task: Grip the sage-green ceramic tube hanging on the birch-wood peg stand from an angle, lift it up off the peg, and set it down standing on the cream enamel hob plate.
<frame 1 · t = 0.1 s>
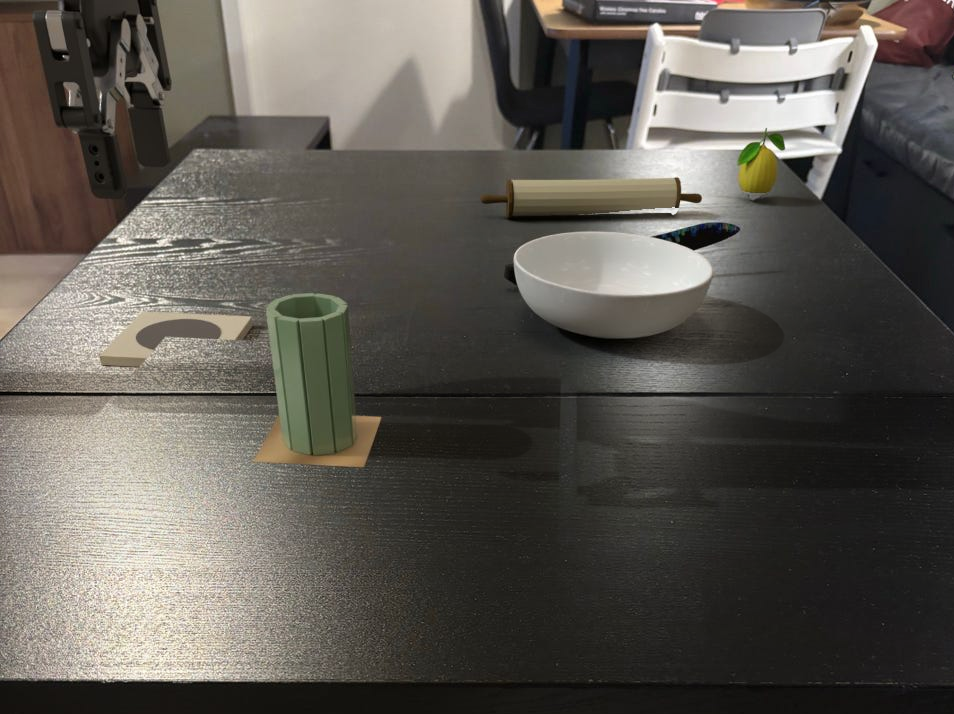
hand: (134, 180, 65), 21 cm above the table, tool pointing down, fingers open, 8 cm apart
knife: (627, 275, 114), point 1 cm above the table
peg stand: (321, 450, 79), on the table
serving bowl: (606, 325, 103), on the table
lemon: (752, 202, 143), on the table
ceramic tube: (320, 437, 78), point 1 cm above the table, touching peg stand
rolling pin: (590, 217, 135), on the table
hob plate: (180, 344, 96), on the table
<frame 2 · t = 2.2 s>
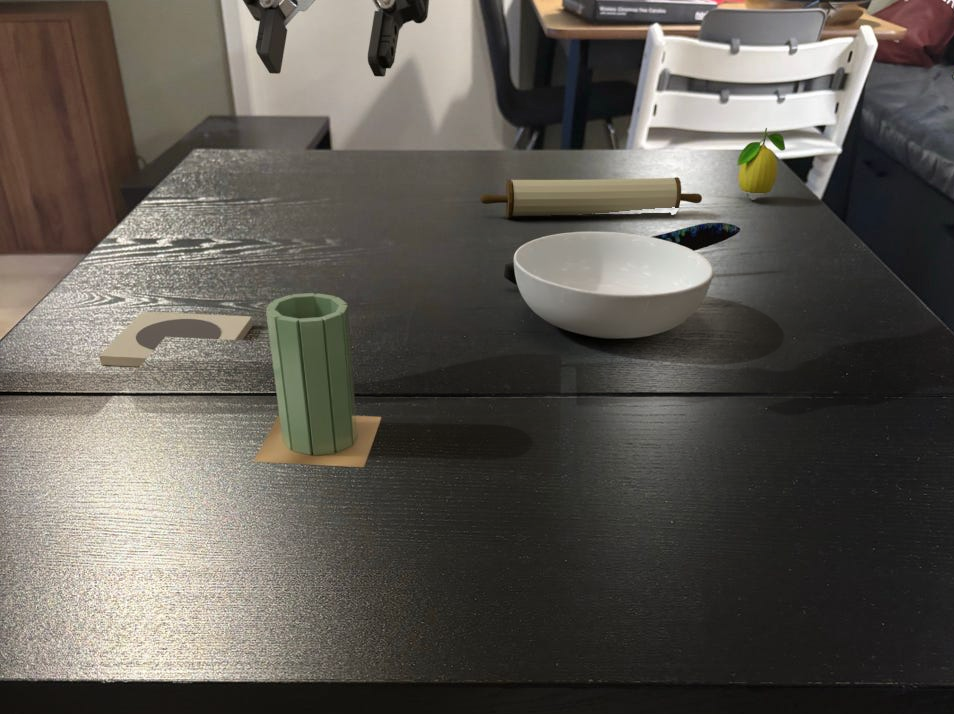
hand: (322, 68, 70), 26 cm above the table, tool tilted 40°, fingers open, 8 cm apart
nothing on the table moved.
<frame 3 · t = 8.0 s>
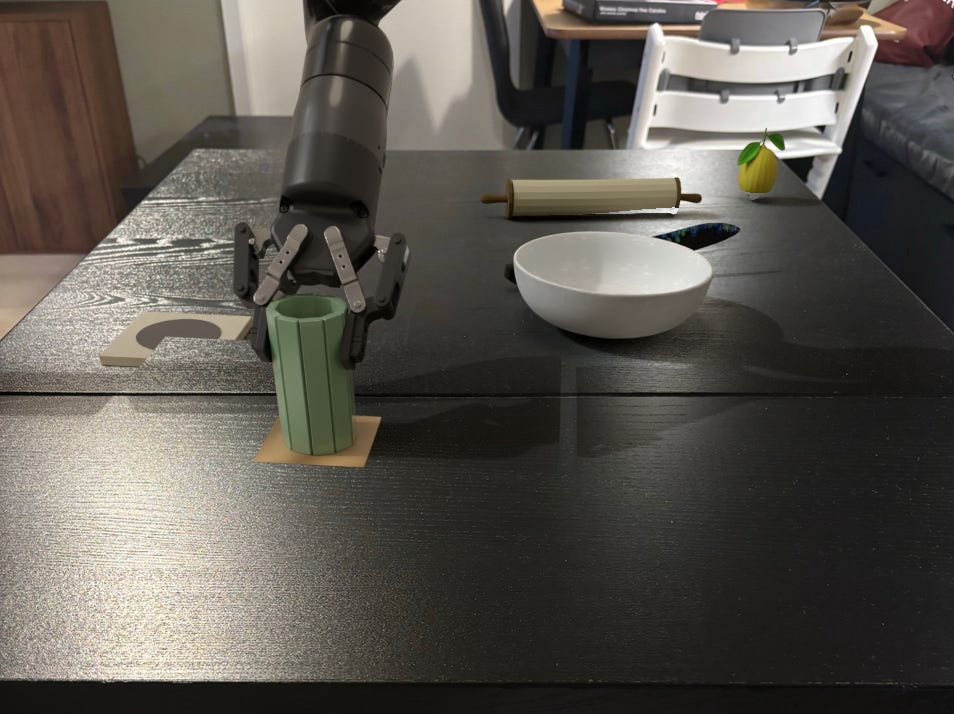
hand: (305, 361, 72), 9 cm above the table, tool tilted 45°, fingers closed on ceramic tube, 6 cm apart
ceramic tube: (320, 437, 78), point 1 cm above the table, touching gripper, peg stand
everything else where it was.
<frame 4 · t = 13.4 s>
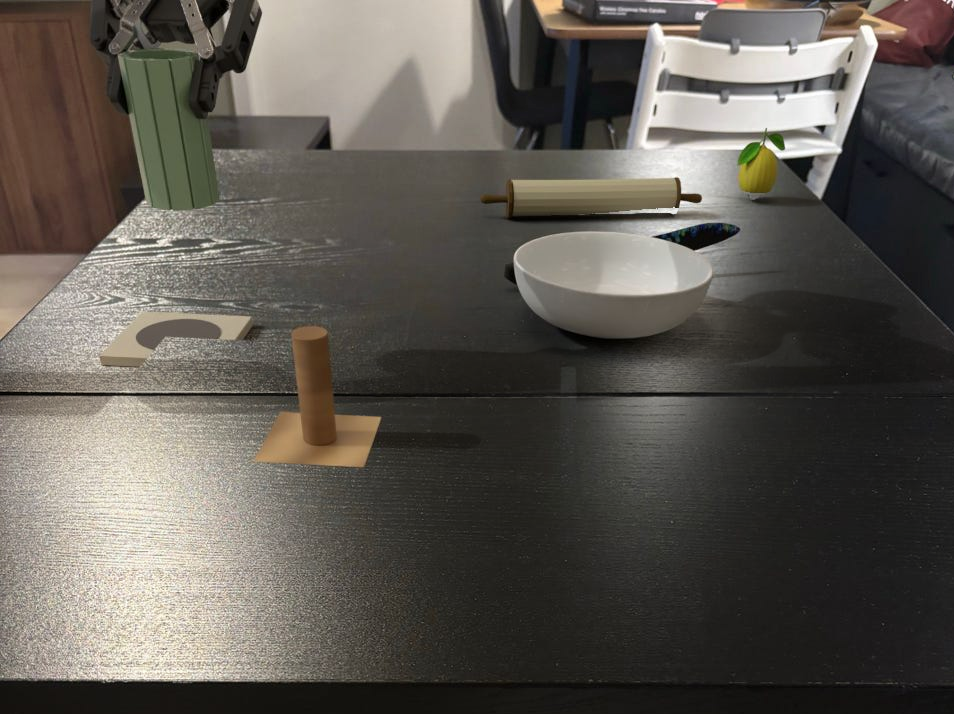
hand: (158, 109, 76), 23 cm above the table, tool tilted 45°, fingers closed on ceramic tube, 6 cm apart
ceramic tube: (183, 201, 82), point 15 cm above the table, touching gripper
everything else where it was.
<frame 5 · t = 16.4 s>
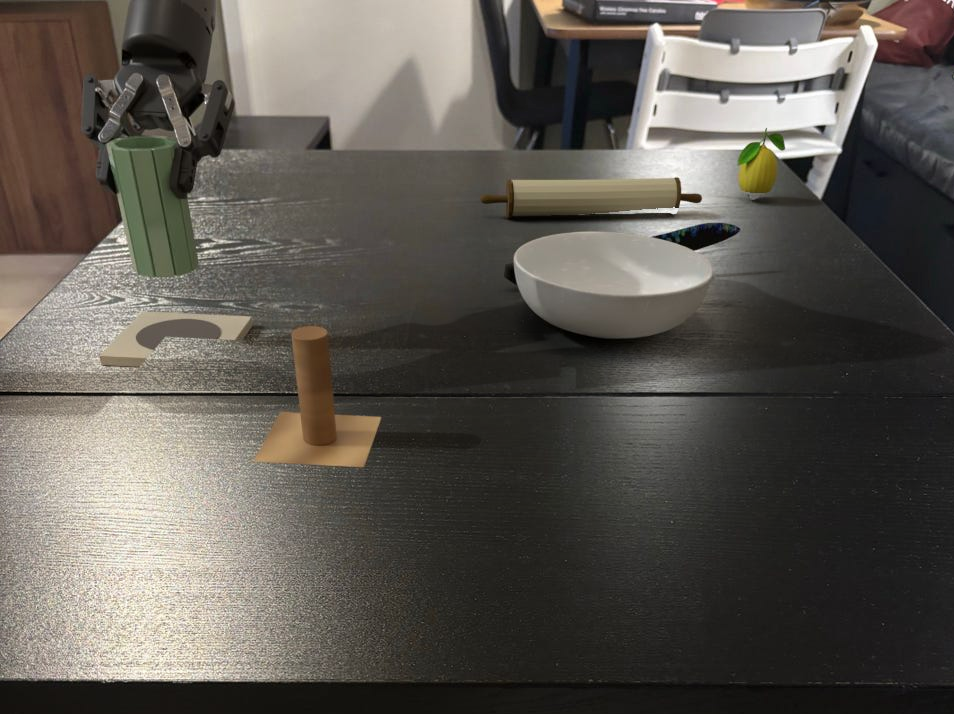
hand: (143, 191, 85), 15 cm above the table, tool tilted 45°, fingers closed on ceramic tube, 6 cm apart
ceramic tube: (166, 267, 91), point 8 cm above the table, touching gripper
everything else where it was.
when the fingers open (8 cm above the table, at t = 18.8 s): ceramic tube stays where it is, resting on hob plate.
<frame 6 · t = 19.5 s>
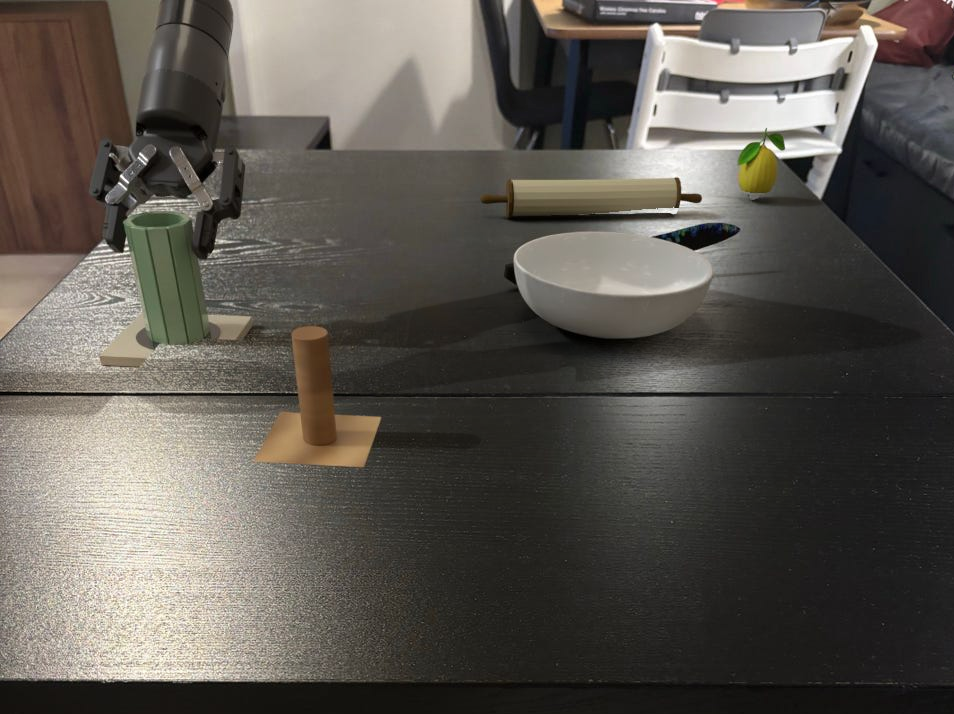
hand: (156, 252, 89), 10 cm above the table, tool tilted 45°, fingers open, 8 cm apart
ceramic tube: (179, 333, 96), point 1 cm above the table, touching hob plate
everything else where it was.
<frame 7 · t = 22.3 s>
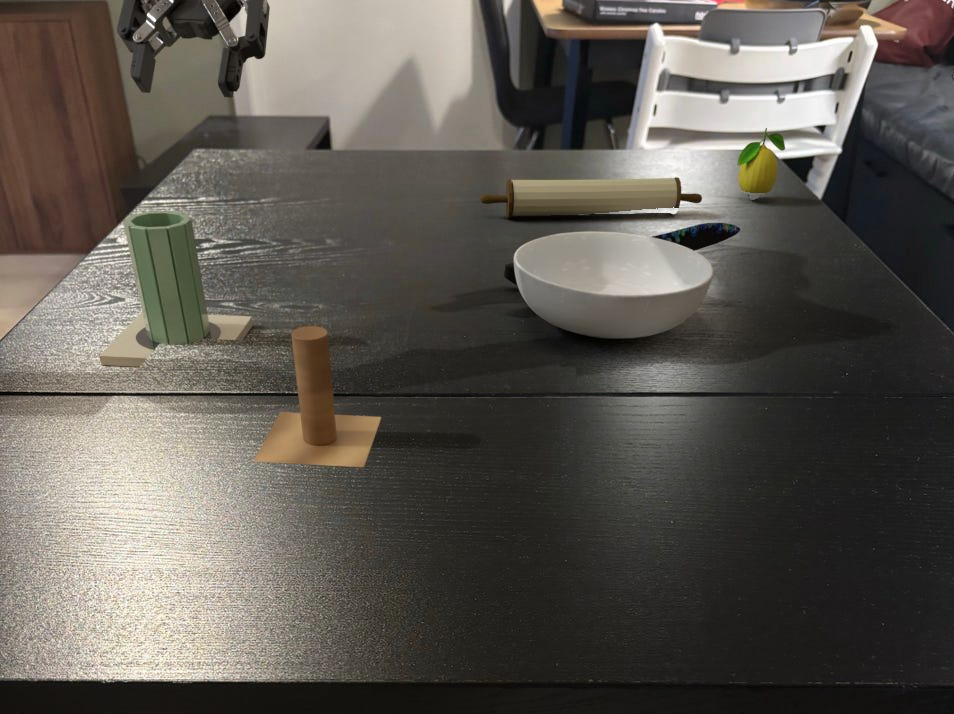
hand: (183, 89, 91), 21 cm above the table, tool tilted 45°, fingers open, 8 cm apart
nothing on the table moved.
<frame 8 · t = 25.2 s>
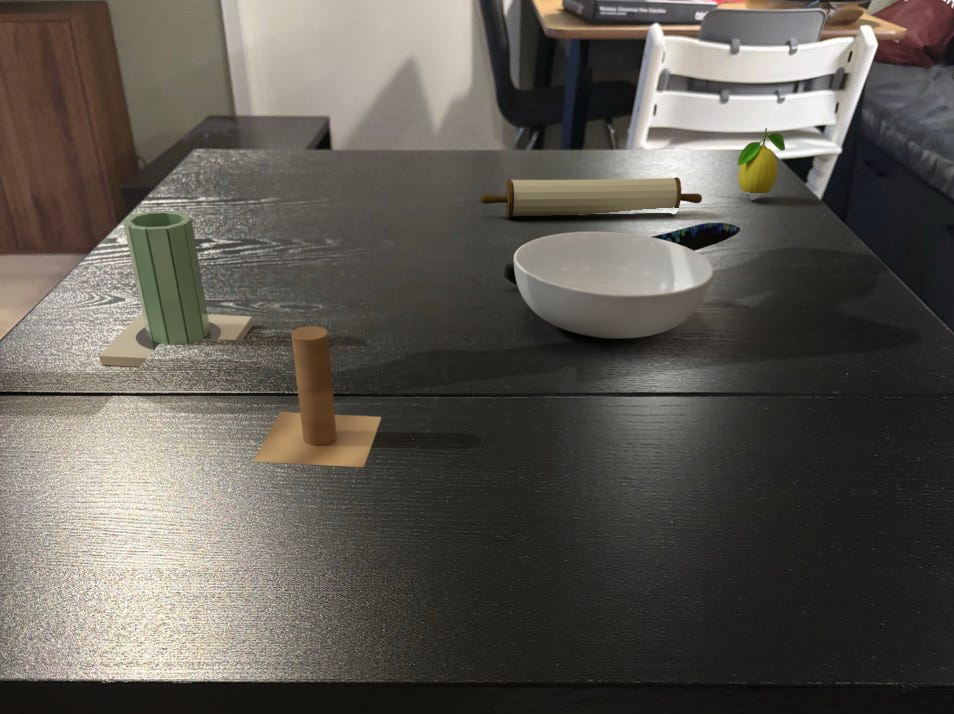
nothing on the table moved.
at the end: ceramic tube inside the target area on the hob plate (0.1 cm from its centre), point 1.1 cm above the hob plate's base; ceramic tube tilted 0°; the gripper is holding nothing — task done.
